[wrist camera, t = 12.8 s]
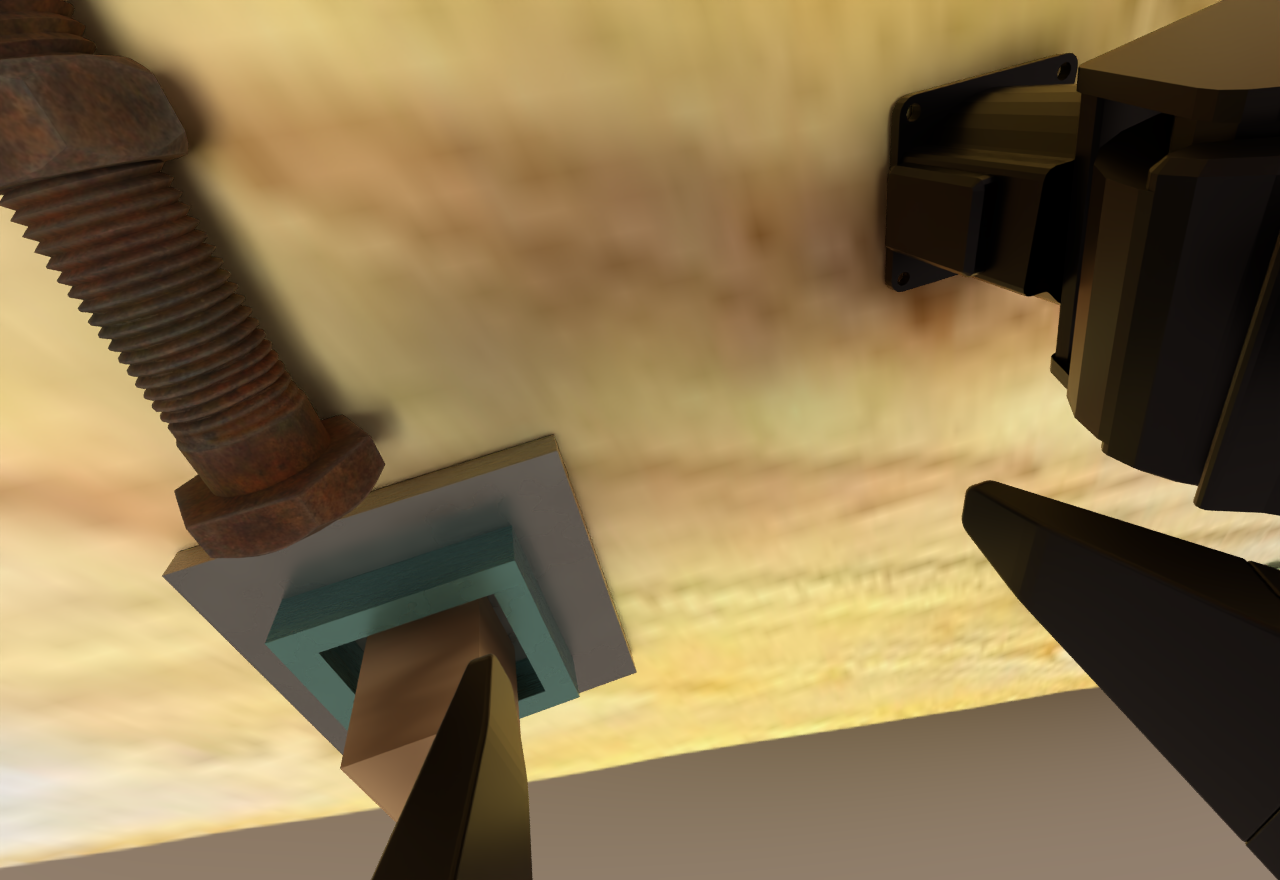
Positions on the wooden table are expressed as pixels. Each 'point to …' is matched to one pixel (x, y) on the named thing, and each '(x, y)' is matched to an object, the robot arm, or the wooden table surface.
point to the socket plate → (423, 584)
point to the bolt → (164, 289)
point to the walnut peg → (415, 694)
